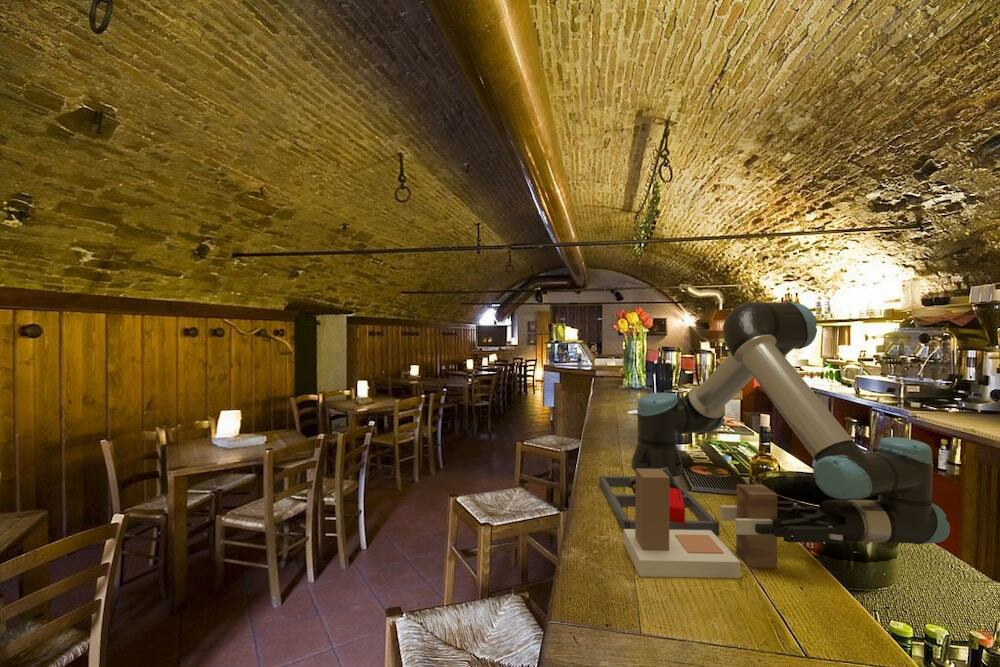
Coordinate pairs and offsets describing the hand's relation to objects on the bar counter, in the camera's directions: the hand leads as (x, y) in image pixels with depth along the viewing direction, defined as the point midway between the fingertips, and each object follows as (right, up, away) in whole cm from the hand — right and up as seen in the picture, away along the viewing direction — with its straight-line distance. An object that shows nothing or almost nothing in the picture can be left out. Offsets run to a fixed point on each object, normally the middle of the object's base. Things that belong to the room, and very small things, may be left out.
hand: (728, 519), depth 84 cm
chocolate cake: (-4, -8, +33) cm, 34 cm away
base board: (-10, -8, +1) cm, 13 cm away
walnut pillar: (+5, -8, 0) cm, 10 cm away
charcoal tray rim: (-6, -7, +25) cm, 27 cm away
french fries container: (-7, -8, +18) cm, 21 cm away
